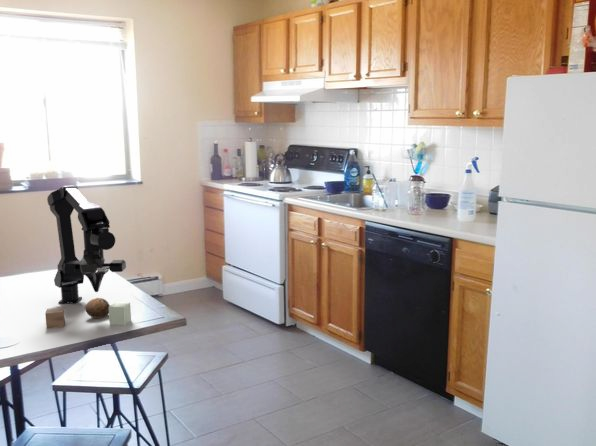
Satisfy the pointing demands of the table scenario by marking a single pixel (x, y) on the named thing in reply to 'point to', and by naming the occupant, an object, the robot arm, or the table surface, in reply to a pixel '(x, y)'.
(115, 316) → the sage block
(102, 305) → the coconut
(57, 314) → the walnut block
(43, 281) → the table surface
